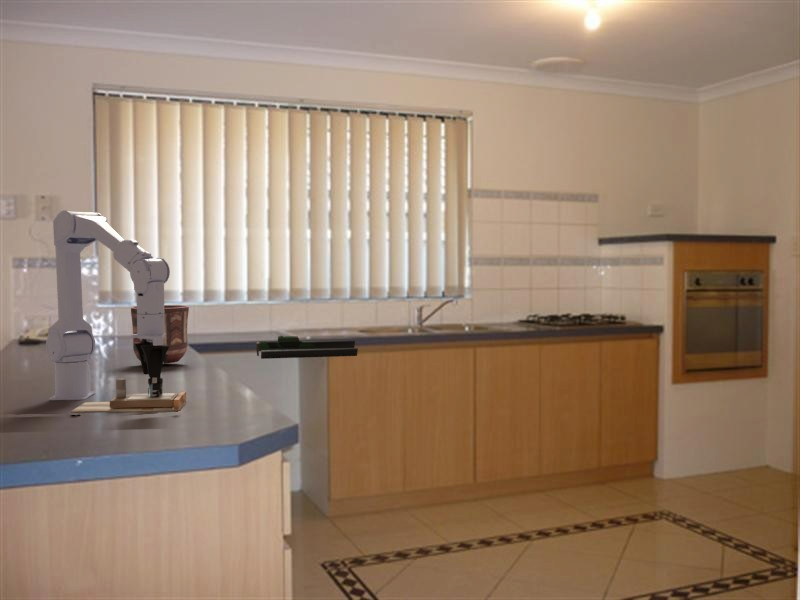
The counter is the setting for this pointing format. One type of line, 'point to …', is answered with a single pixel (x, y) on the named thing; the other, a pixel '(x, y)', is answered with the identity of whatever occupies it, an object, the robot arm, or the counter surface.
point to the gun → (305, 348)
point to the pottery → (169, 331)
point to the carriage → (139, 398)
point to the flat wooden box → (105, 407)
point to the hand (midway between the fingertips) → (151, 375)
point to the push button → (155, 383)
